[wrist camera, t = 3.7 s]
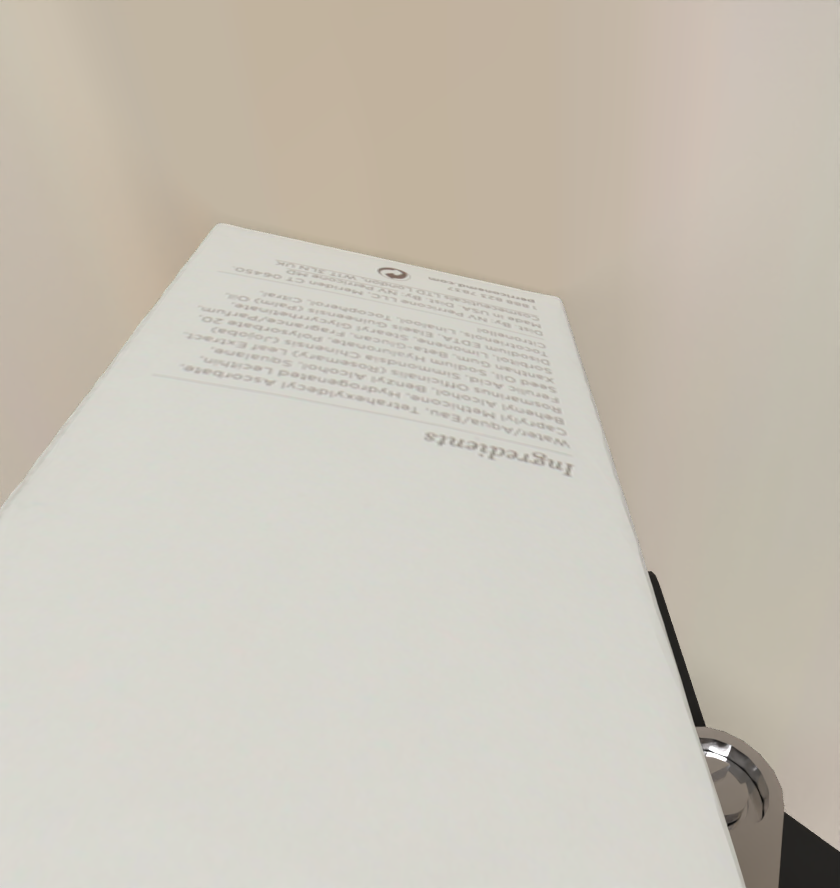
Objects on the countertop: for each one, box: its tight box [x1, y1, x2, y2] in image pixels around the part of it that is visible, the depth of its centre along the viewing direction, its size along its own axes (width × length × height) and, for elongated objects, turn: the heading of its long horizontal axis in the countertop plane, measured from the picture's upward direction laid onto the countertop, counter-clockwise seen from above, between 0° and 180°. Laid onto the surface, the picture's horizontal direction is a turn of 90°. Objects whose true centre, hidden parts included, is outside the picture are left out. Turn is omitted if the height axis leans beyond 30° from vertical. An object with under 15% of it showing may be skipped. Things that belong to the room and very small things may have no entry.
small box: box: [0, 223, 746, 888], centre depth 10 cm, size 8×6×10 cm
